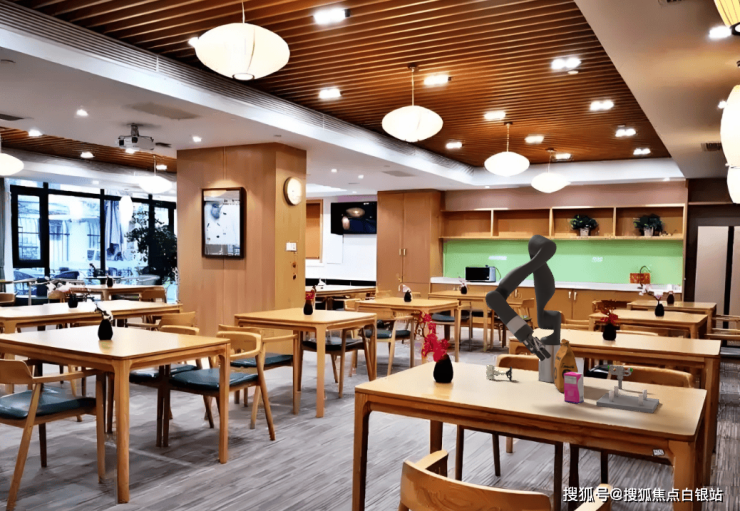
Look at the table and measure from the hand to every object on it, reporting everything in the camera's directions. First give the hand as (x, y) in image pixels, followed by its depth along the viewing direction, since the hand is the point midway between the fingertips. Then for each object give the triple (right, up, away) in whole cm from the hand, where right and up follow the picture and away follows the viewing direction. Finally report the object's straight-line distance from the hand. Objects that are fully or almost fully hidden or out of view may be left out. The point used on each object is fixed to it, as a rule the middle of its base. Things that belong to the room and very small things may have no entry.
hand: (546, 358), depth 244 cm
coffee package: (+13, -17, +15) cm, 26 cm away
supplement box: (+9, -16, -6) cm, 20 cm away
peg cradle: (+29, -16, -9) cm, 35 cm away
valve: (-12, -17, +38) cm, 43 cm away
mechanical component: (+39, -17, +20) cm, 47 cm away
